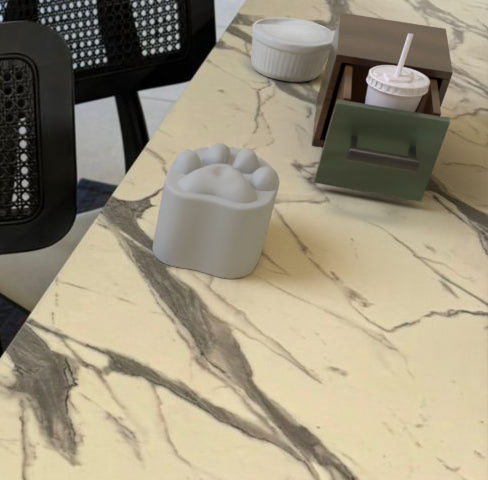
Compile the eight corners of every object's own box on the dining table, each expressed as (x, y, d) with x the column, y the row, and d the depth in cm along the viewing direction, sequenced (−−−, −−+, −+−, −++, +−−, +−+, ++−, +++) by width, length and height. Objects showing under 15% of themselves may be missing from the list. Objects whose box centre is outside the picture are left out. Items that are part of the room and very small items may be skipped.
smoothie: (331, 160, 113) (369, 29, 104) (361, 145, 117) (401, 18, 107) (382, 181, 110) (426, 49, 101) (411, 166, 114) (457, 36, 104)
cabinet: (420, 164, 119) (452, 72, 112) (311, 145, 121) (336, 54, 114) (416, 114, 130) (446, 28, 123) (317, 97, 132) (340, 12, 125)
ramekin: (282, 50, 145) (291, 11, 141) (343, 77, 138) (355, 37, 135) (226, 63, 139) (235, 22, 136) (287, 91, 133) (298, 50, 130)
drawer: (422, 221, 106) (452, 140, 100) (311, 201, 108) (335, 120, 102) (417, 148, 120) (443, 73, 114) (319, 131, 122) (340, 56, 116)
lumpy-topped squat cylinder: (143, 259, 98) (158, 174, 92) (173, 202, 107) (188, 122, 101) (250, 284, 96) (273, 199, 90) (271, 224, 105) (292, 143, 99)
